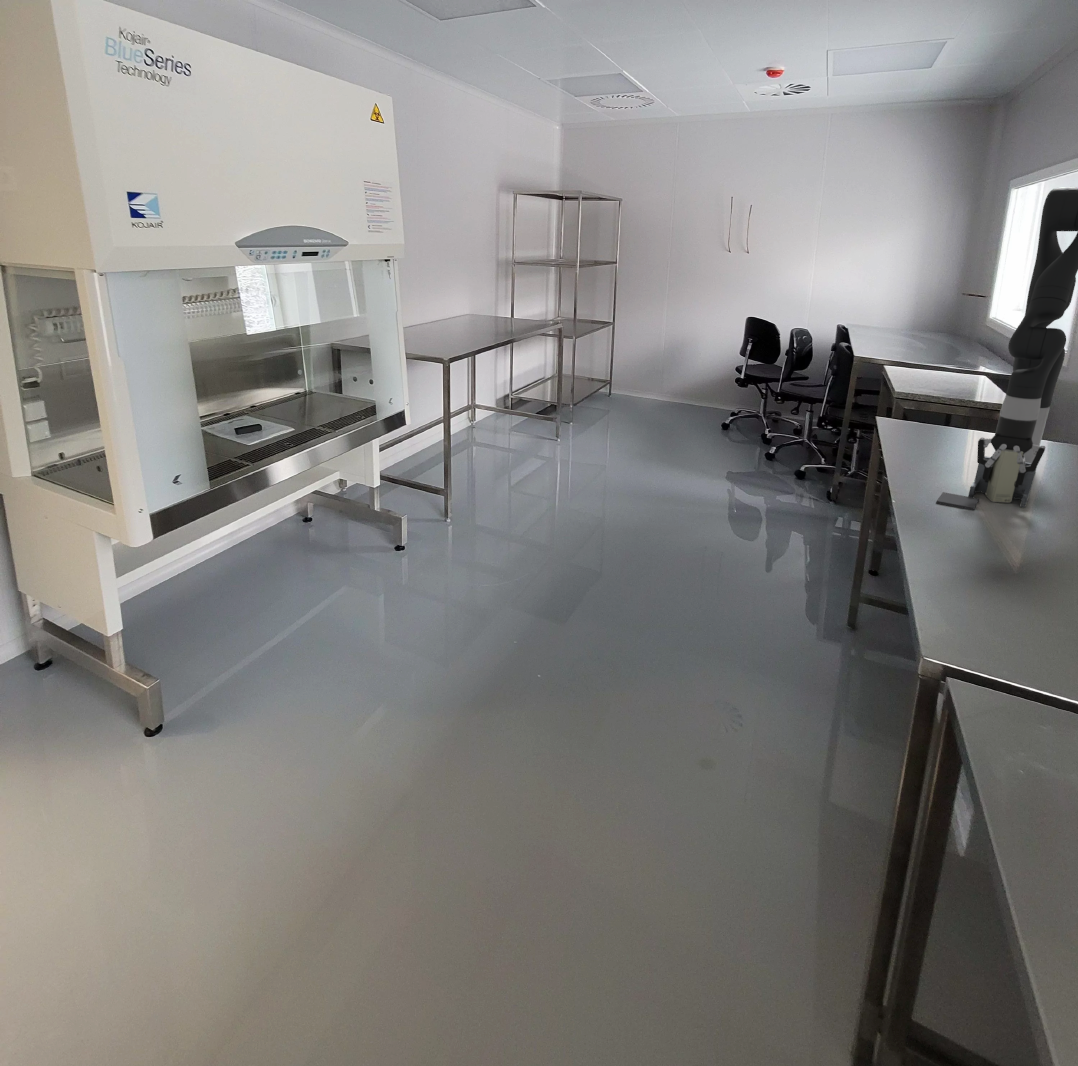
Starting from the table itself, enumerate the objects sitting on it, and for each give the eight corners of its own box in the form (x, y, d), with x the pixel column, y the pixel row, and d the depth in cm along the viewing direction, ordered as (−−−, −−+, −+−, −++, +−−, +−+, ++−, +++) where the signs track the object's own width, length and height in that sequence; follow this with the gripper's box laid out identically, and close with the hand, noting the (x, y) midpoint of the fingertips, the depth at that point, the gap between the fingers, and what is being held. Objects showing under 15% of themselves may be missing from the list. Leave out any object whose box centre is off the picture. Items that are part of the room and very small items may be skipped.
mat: (942, 494, 183) (942, 492, 183) (978, 500, 179) (979, 498, 178) (936, 503, 177) (936, 500, 177) (973, 510, 173) (974, 507, 172)
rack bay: (972, 489, 186) (980, 455, 183) (1028, 499, 180) (1037, 464, 176) (967, 497, 181) (976, 462, 177) (1024, 507, 174) (1034, 471, 171)
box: (1011, 503, 177) (1025, 452, 172) (991, 502, 178) (1004, 451, 173) (1003, 496, 182) (1016, 446, 177) (983, 495, 182) (996, 445, 178)
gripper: (1056, 416, 171) (1037, 485, 177) (986, 408, 178) (970, 474, 185) (1054, 422, 165) (1034, 493, 171) (981, 414, 173) (965, 482, 179)
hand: (1001, 483), depth 178 cm, fingers closed on box, 5 cm apart
